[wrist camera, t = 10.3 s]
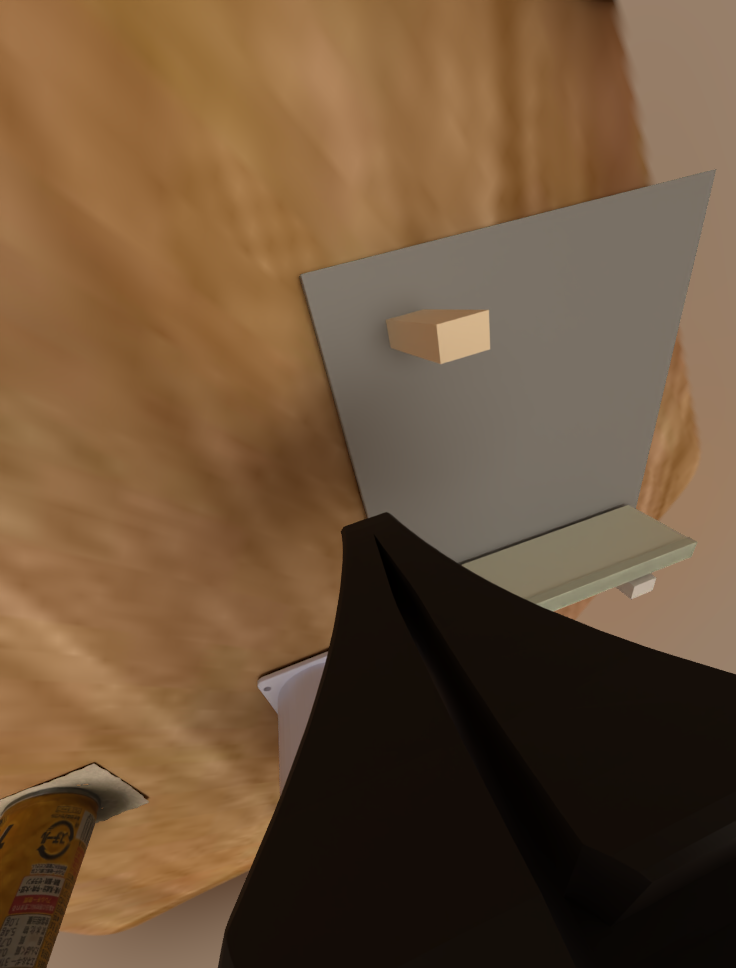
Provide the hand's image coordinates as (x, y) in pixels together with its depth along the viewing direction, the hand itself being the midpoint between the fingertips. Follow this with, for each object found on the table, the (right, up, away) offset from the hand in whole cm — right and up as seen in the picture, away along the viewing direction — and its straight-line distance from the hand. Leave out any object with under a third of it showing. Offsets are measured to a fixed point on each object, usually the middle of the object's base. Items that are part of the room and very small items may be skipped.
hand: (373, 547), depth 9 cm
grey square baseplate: (+9, +4, +11) cm, 15 cm away
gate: (+12, -3, +15) cm, 19 cm away
